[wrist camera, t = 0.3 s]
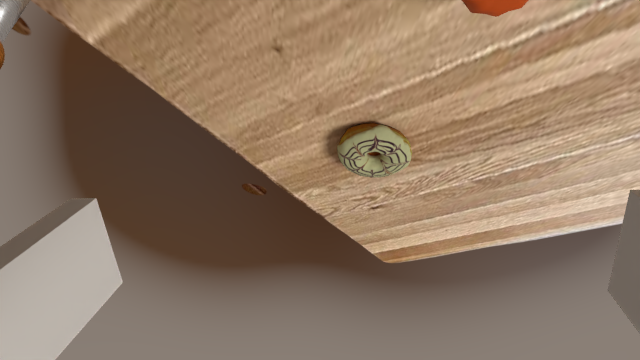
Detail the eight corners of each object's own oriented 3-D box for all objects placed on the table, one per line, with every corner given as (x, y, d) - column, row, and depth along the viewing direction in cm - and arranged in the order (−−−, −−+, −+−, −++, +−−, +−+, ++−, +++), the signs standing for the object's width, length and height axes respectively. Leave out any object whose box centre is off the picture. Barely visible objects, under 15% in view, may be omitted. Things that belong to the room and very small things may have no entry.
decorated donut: (380, 107, 59) (381, 128, 57) (424, 144, 65) (426, 165, 63) (324, 138, 65) (323, 158, 63) (369, 169, 71) (369, 188, 69)
